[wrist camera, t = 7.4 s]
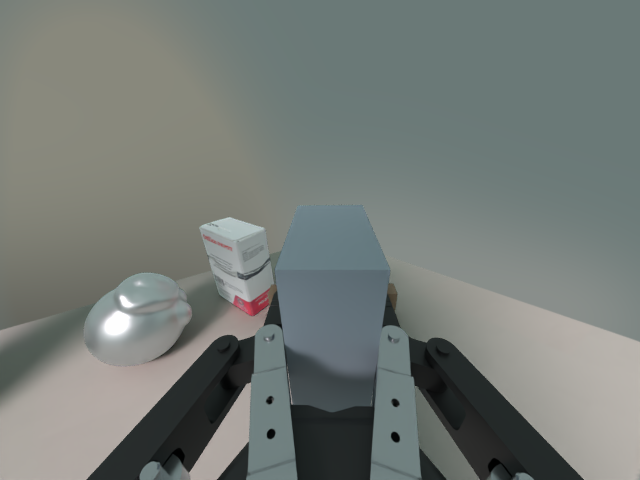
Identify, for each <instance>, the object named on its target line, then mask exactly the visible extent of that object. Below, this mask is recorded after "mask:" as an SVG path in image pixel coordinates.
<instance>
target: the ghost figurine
mask: <svg viewBox="0 0 640 480" xmlns="http://www.w3.org/2000/svg"><path fill="white" fill-rule="evenodd" d="M191 318H192V309H191V306H190V305H189V304H188V303H187V295H186V293H185V292H184V291H183V290H182V289H180V288H179V286H178V284H177V283H176V282H175V281H174V280H172V279H171V278H169V277H167V276H164V275H161V274H156V273H139V274H136V275H133V276H130V277H129V278H127V279H125V280H124V281H123V282H121V283H120V284H119V286H118V287H117V288H116V289H114V290H112V291H110V292H109V293H107V294H106V295H105V296H103V297H102V298H101V299H100V300H99V301H98V302H97V303H96V304H95V305H94V306H93V308H92V309H91V311H90V312H89V314H88V316H87V318H86V321H85V324H84V331H83V335H84V341H85V344H86V347H87V348H88V350H89V351H90V353H91V354H92V355H93V356H94V357H95V358H97V359H98V360H100V361H102V362H104V363H106V364H109V365H114V366H135V365H139V364H143V363H146V362H149V361H151V360H153V359H155V358H157V357H159V356H160V355H162V354H163V353H165V352H166V351H167V350H168V349H170V348H171V347H172V346H173V345H174V343H175V342H176V341H177V339H178V338H179V336H180V335H181V333H182V331H183V329H184V326H185V325H186V324H188V323H189V322H190V320H191Z"/></svg>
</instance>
